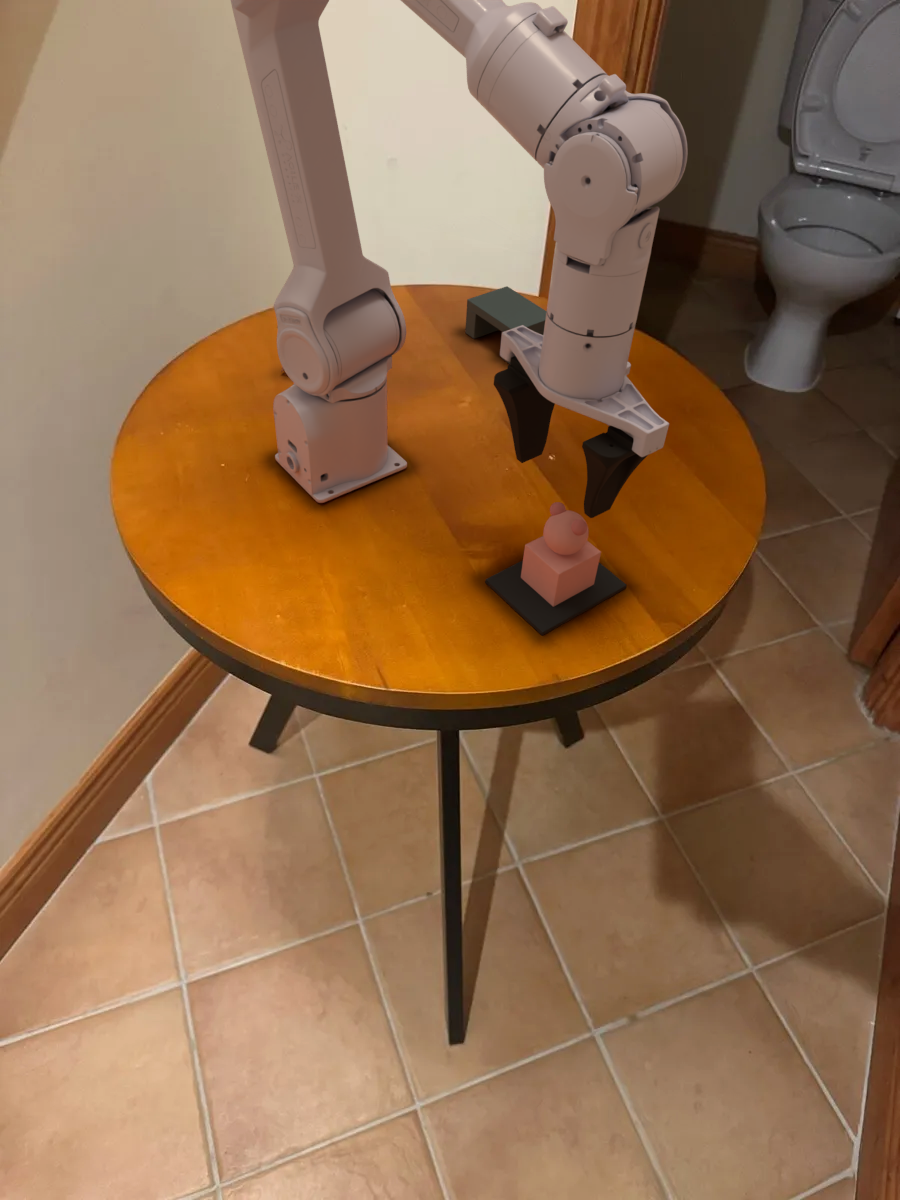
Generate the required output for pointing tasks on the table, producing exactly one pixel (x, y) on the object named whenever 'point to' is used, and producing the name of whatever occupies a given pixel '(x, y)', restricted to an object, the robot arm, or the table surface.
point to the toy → (561, 557)
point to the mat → (543, 612)
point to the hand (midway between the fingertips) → (562, 483)
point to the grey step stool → (502, 313)
